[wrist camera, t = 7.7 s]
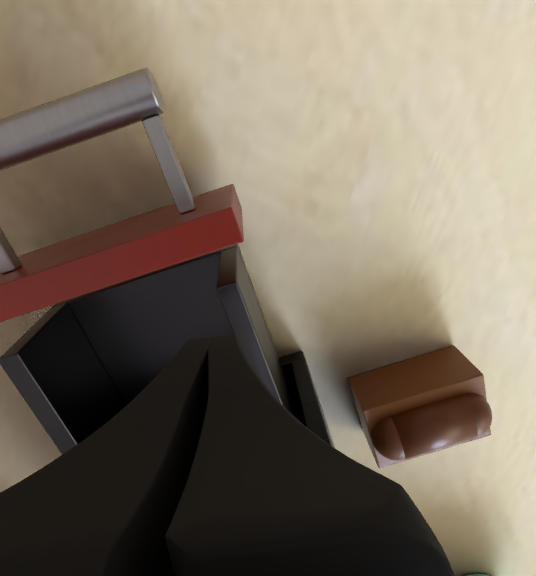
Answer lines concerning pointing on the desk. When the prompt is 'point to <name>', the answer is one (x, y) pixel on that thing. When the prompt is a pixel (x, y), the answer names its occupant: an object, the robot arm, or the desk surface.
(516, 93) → the desk surface
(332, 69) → the desk surface
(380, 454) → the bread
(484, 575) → the cupcake
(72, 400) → the drawer
